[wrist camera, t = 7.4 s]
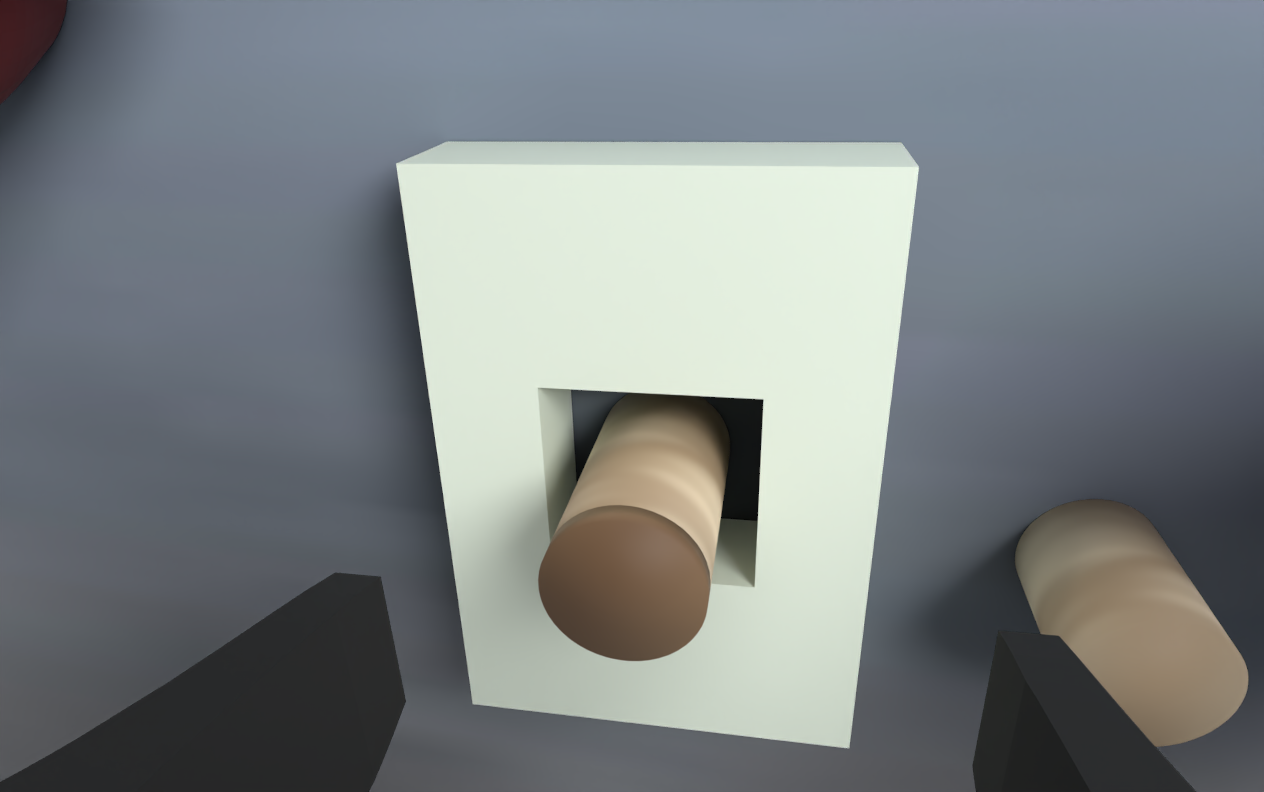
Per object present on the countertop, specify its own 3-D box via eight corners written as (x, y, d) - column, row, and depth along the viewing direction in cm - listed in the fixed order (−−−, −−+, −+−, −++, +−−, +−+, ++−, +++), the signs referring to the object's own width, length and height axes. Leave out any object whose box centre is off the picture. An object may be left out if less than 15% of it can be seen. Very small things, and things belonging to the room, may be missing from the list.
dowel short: (1176, 504, 18) (1270, 630, 14) (1143, 615, 19) (1222, 755, 16) (1027, 494, 18) (1082, 613, 15) (1005, 603, 20) (1051, 736, 16)
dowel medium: (744, 403, 19) (726, 547, 14) (714, 512, 20) (688, 679, 15) (614, 371, 19) (550, 501, 14) (593, 481, 20) (528, 635, 15)
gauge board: (901, 142, 16) (919, 167, 14) (843, 669, 21) (849, 748, 19) (447, 141, 17) (396, 163, 15) (504, 634, 23) (472, 703, 21)
